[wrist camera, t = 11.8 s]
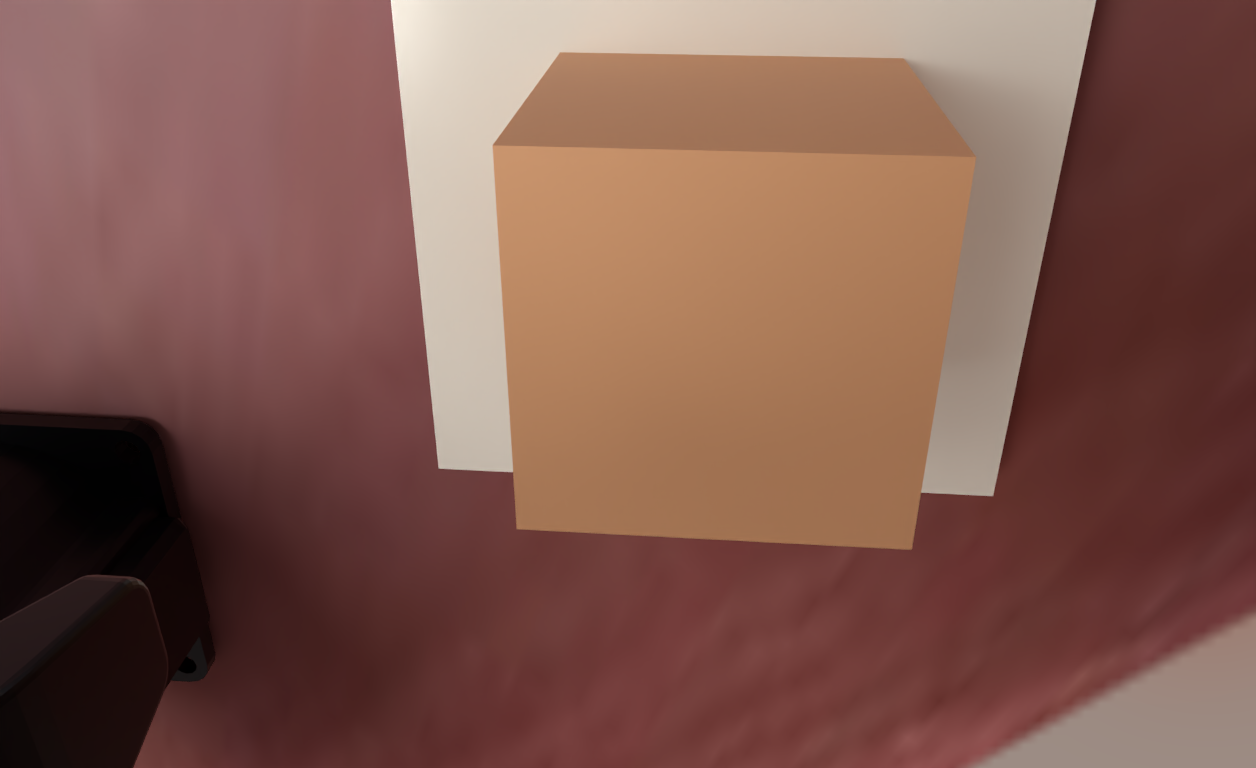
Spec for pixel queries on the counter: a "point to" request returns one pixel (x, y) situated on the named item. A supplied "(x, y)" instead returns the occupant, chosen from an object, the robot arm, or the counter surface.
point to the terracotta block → (727, 295)
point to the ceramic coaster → (752, 26)
